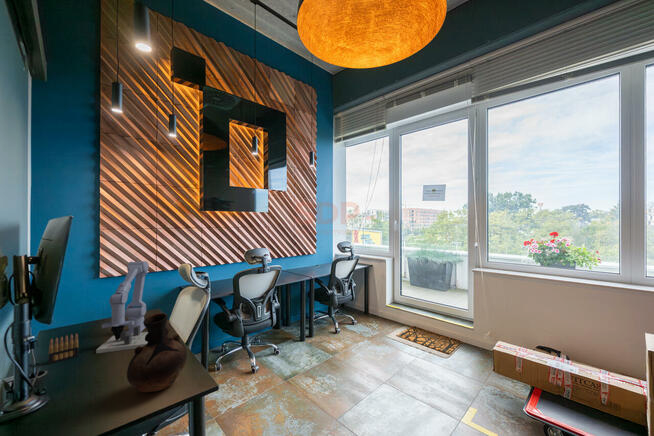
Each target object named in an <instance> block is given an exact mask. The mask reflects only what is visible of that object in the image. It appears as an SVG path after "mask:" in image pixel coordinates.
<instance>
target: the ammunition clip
mask: <svg viewBox="0 0 654 436" xmlns="http://www.w3.org/2000/svg"><path fill="white" fill-rule="evenodd" d="M48 346H49V347H48V361H47V365H52V364H56V363H60V362H63V361H68V360H71V359H75V358H79V335H78V333H75V336H73V334H70V337H69V336H68V335H65V337H64V338H63V336H60V339H59V338H58V337H55V340H54V339H53V338H51V339H50V340H49V345H48Z"/></svg>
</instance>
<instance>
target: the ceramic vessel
mask: <svg viewBox="0 0 654 436" xmlns="http://www.w3.org/2000/svg"><path fill="white" fill-rule="evenodd" d="M167 320H168V314H167V313H164V312H161V313H154V314H151V315H149V316H147V317H146V318H144V321H143V323H144V327H146V328H145V329H146V330H147V331H146V332H148V333H147V335H146V336H145V341H147V342H148V343H147V344H145V345H144V346H143V347H141V346H139V347H137V348H136V349H134V355H133V357H132V358H131V360H130V361H129V363H128V366H127V370H126V371H127V372H126V378H127V381H128V382H129V384H130V386H131V387H132V388H133V389H134V390H136V391H138V392H141V393H153V392H158V391H162V390H163V389H166V388H168V387H169V386H171V385H172V384H173V383H174V382H176V380H177V379H178V378H179V376H180V375H181V373H182V372H183V371H184V368H185V366H186V364H187V359H188V353H187V348H186V346H185V345H184V343H183V342H182V341H181V340H180V339H181V337H180V336H179V334H178V333H175V334H174V335H173V336H172V337H169V336H168V334H169V329H168V327H167V322H168V321H167Z"/></svg>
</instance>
